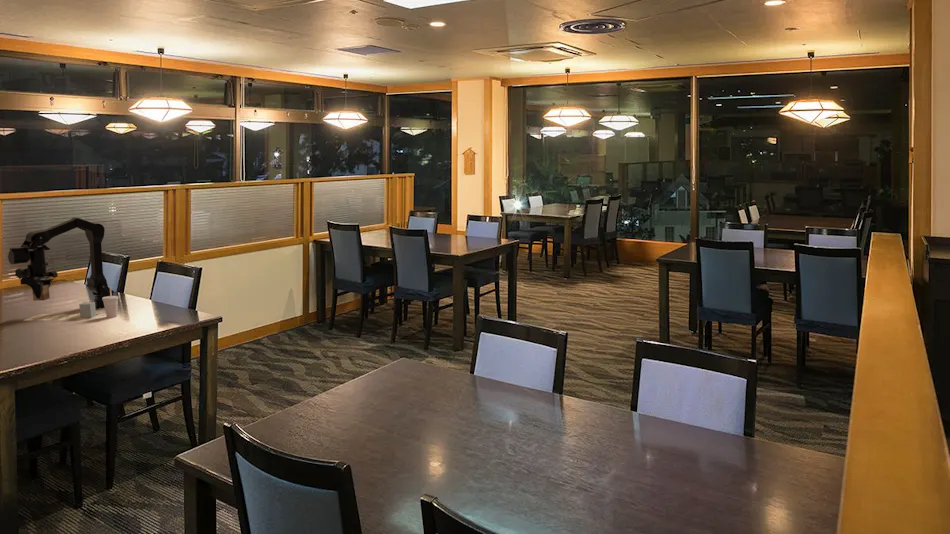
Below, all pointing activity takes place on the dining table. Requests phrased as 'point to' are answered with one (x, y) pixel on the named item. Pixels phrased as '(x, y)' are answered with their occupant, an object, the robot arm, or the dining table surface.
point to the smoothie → (110, 305)
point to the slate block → (87, 310)
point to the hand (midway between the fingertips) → (41, 297)
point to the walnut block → (42, 293)
